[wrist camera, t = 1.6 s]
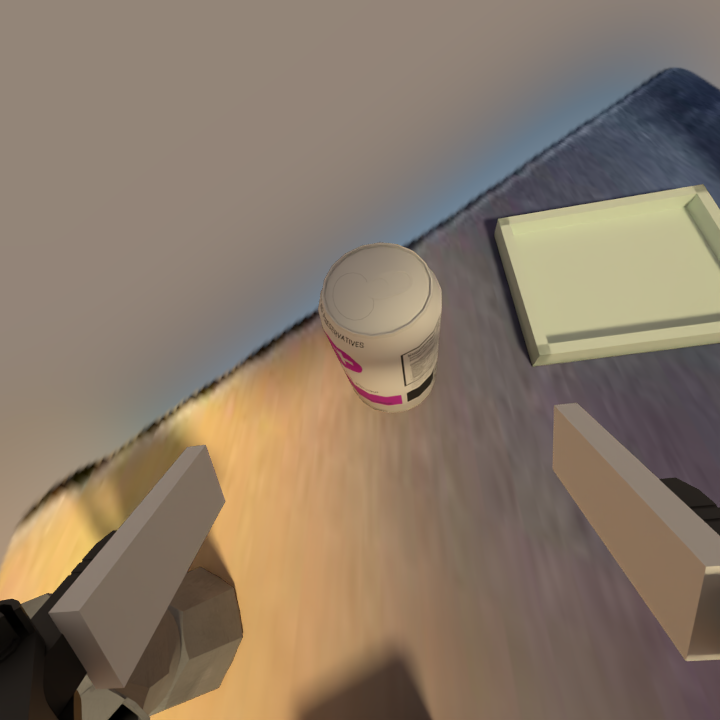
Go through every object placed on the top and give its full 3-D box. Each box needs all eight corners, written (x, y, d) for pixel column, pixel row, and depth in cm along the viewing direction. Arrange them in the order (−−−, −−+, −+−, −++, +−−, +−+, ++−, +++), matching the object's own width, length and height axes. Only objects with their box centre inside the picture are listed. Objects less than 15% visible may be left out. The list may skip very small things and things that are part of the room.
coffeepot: (275, 570, 32) (118, 616, 15) (259, 715, 28) (28, 981, 12) (112, 560, 34) (-173, 591, 18) (77, 692, 30) (-327, 886, 14)
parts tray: (687, 203, 40) (703, 184, 37) (766, 336, 33) (792, 323, 31) (493, 235, 42) (497, 218, 40) (532, 366, 35) (539, 355, 33)
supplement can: (365, 425, 35) (329, 363, 22) (343, 351, 39) (301, 257, 25) (447, 400, 35) (463, 321, 22) (419, 327, 39) (416, 220, 25)
